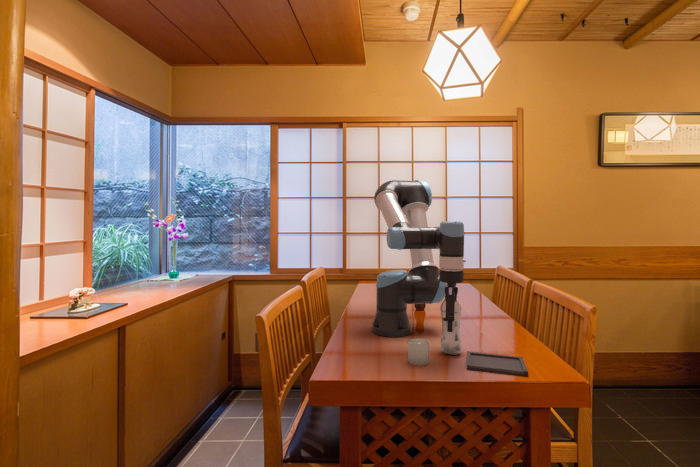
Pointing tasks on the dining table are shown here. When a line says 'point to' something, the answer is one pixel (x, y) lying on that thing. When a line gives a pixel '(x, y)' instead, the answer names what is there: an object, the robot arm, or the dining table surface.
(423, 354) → the white rounded cylinder
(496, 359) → the tray
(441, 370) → the dining table surface
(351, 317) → the dining table surface
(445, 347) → the plastic bottle
